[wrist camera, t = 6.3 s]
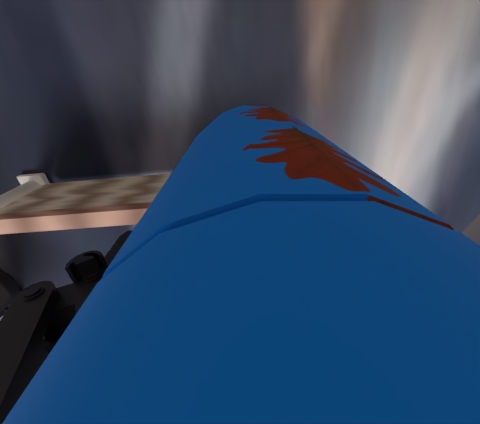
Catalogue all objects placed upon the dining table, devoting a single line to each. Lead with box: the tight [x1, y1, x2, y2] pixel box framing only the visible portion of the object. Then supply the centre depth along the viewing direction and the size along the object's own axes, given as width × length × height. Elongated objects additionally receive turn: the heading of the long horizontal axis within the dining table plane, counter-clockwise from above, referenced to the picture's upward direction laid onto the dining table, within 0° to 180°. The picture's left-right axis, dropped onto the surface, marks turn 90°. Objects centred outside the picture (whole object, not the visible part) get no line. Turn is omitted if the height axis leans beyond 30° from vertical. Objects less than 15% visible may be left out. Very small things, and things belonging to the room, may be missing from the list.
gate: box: [0, 174, 171, 234], centre depth 33 cm, size 24×2×12 cm, turn 95°
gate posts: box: [0, 173, 50, 209], centre depth 33 cm, size 32×4×16 cm, turn 95°
